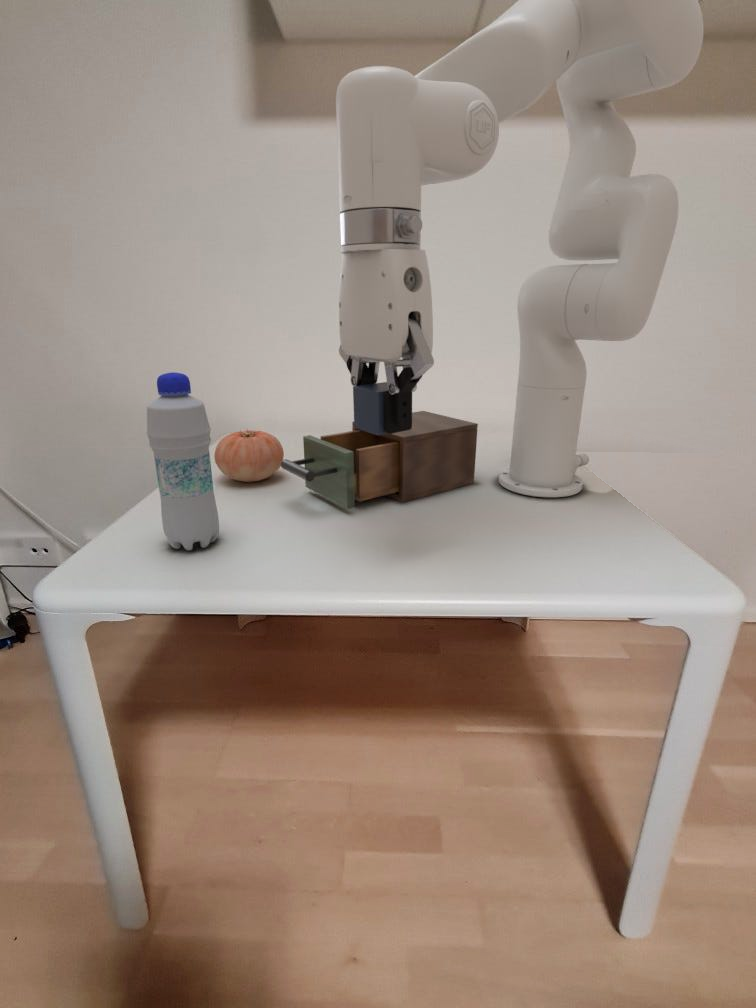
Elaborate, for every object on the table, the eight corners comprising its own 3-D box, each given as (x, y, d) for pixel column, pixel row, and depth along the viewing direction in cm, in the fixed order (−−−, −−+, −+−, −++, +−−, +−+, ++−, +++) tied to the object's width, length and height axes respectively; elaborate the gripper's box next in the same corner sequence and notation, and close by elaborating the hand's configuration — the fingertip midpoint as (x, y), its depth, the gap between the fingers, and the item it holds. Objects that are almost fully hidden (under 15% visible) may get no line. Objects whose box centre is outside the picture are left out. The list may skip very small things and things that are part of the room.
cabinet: (402, 502, 78) (403, 437, 75) (353, 480, 87) (352, 421, 84) (473, 483, 86) (477, 423, 83) (421, 464, 96) (423, 410, 92)
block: (386, 421, 61) (386, 381, 59) (412, 429, 57) (412, 386, 56) (354, 427, 58) (352, 386, 57) (378, 435, 55) (378, 392, 53)
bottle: (201, 526, 70) (182, 367, 63) (234, 540, 66) (216, 372, 59) (152, 544, 65) (125, 373, 58) (184, 560, 61) (159, 378, 54)
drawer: (315, 517, 70) (313, 459, 68) (275, 493, 79) (272, 441, 76) (423, 489, 81) (424, 438, 78) (377, 471, 89) (377, 424, 86)
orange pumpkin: (266, 492, 82) (262, 440, 79) (203, 485, 85) (197, 435, 82) (295, 471, 92) (293, 425, 89) (238, 466, 95) (234, 421, 92)
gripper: (474, 229, 47) (465, 436, 54) (361, 243, 59) (365, 409, 66) (407, 225, 43) (406, 450, 49) (301, 241, 55) (311, 418, 62)
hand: (382, 424), depth 58 cm, fingers closed on block, 4 cm apart
